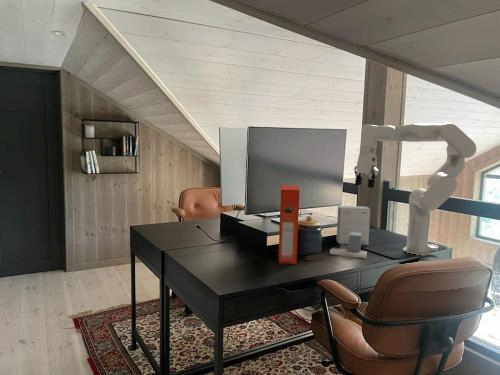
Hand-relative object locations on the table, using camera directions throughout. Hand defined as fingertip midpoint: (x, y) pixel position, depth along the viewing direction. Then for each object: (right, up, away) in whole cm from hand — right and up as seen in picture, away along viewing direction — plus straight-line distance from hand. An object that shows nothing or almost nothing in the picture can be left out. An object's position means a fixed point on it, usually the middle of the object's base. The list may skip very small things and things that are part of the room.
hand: (364, 186), depth 191 cm
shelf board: (-9, -33, -7) cm, 35 cm away
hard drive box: (-3, -31, +13) cm, 33 cm away
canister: (-28, -32, -3) cm, 42 cm away
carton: (-6, -31, -7) cm, 32 cm away
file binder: (-39, -33, -13) cm, 52 cm away
